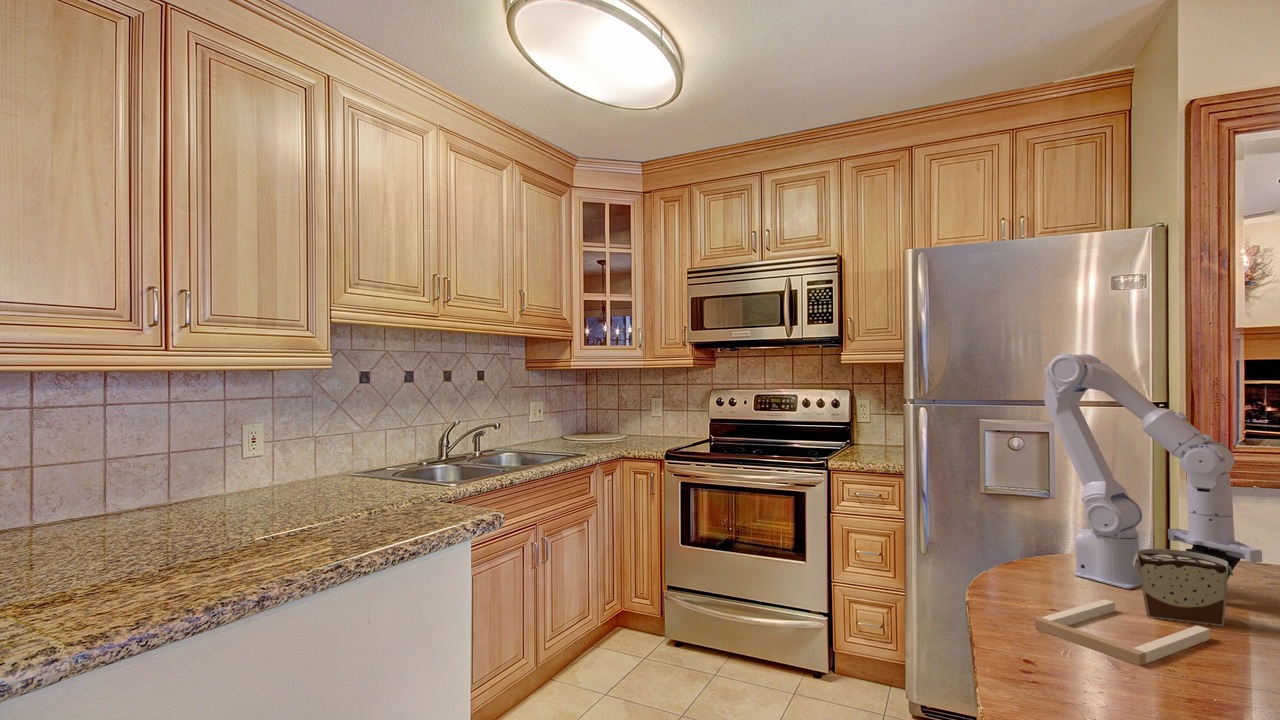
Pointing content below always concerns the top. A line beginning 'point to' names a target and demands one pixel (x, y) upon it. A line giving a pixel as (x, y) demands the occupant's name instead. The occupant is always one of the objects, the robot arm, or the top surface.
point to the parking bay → (1137, 655)
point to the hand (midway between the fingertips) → (1214, 592)
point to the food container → (1183, 585)
